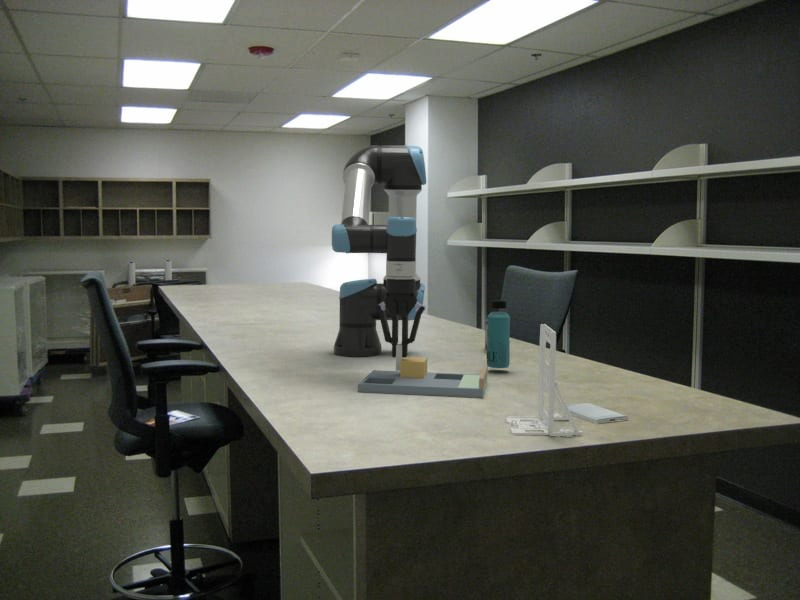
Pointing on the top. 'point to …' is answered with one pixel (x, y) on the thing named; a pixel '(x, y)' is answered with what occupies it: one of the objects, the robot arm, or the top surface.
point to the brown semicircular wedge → (486, 333)
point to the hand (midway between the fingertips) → (399, 369)
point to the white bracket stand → (546, 385)
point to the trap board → (426, 384)
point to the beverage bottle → (498, 337)
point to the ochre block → (413, 367)
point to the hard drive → (594, 413)
